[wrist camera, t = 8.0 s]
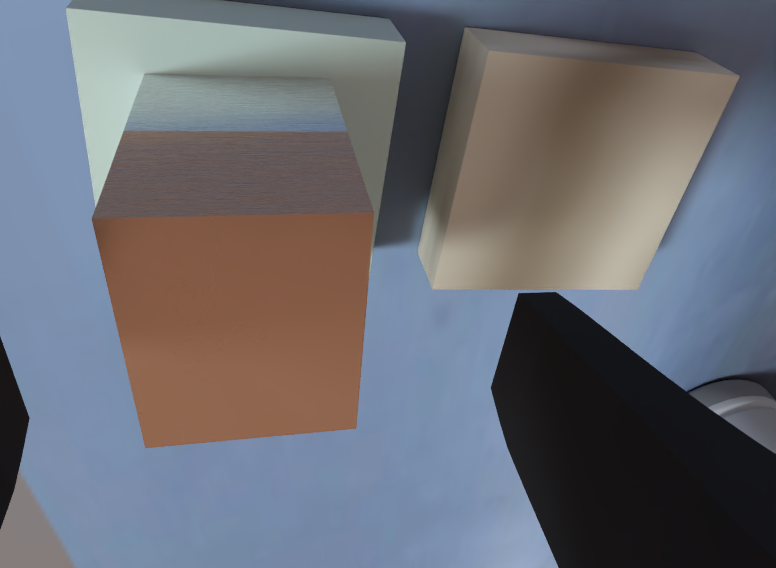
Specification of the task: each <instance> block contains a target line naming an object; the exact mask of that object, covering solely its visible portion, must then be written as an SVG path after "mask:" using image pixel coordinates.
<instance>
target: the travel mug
mask: <svg viewBox="0 0 776 568" xmlns="http://www.w3.org/2000/svg"><path fill="white" fill-rule="evenodd" d="M688 393H689V394H690V395H691V396H693V397H694V398H696V399H697V400H698V401H700V402H701V403H702V404H704V405H705V406H707V407H708V408H709V409H711V410H712V411H714V412H715V413H716V414H718V415H719V416H721V417H722V418H724V419H725V420H727V421H728V422H729V423H731V424H732V425H734V426H735V427H737V428H738V429H739V430H741V431H742V432H744V433H745V434H747V435H748V436H750V437H751V438H752V439H754V440H755V441H757V442H758V443H760V444H761V445H763V446H764V447H766V448H768V449H769V450H771V451H772V452H774V453H775V454H776V400H775V399H774V398H773V397H772V396H771V395H770V393H769V392H768V391H767V390H766V389H765V388H764V387H762V386H761V385H760V384H757V383H754V382H751V381H748V380H739V379H736V380H724V381H719V382H715V383H711V384H708V385H705V386H702V387H699V388H697V389H695V390H693V391H690V392H688Z"/></svg>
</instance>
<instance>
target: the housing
mask: <svg viewBox="0 0 776 568" xmlns="http://www.w3.org/2000/svg"><path fill="white" fill-rule="evenodd" d="M373 221H374V210H373V207H372V204H371V201H370V198H369V195H368V192H367V189H366V186H365V183H364V180H363V177H362V174H361V171H360V168H359V165H358V162H357V159H356V156H355V153H354V150H353V147H352V144H351V141H350V138H349V135H348V132H347V129H346V126H345V123H344V120H343V117H342V114H341V110H340V107H339V104H338V101H337V98H336V95H335V92H334V89H333V86H332V83H331V80H330V78H307V77H262V76H218V75H173V74H144V75H143V78H142V81H141V84H140V87H139V89H138V92H137V95H136V98H135V100H134V103H133V106H132V109H131V111H130V114H129V117H128V120H127V123H126V125H125V128H124V131H123V134H122V136H121V139H120V142H119V145H118V147H117V150H116V153H115V156H114V158H113V161H112V164H111V167H110V170H109V172H108V175H107V178H106V181H105V183H104V186H103V189H102V192H101V194H100V197H99V200H98V203H97V206H96V208H95V211H94V214H93V217H92V222H93V226H94V230H95V235H96V239H97V243H98V248H99V252H100V256H101V260H102V265H103V269H104V273H105V277H106V282H107V286H108V290H109V295H110V299H111V303H112V307H113V312H114V316H115V320H116V324H117V329H118V333H119V337H120V342H121V346H122V350H123V354H124V359H125V363H126V367H127V371H128V376H129V380H130V384H131V389H132V393H133V397H134V401H135V406H136V410H137V414H138V418H139V423H140V427H141V431H142V436H143V440H144V444H145V448H152V447H163V446H173V445H184V444H195V443H206V442H216V441H227V440H238V439H249V438H260V437H270V436H281V435H292V434H303V433H314V432H324V431H335V430H346V429H356V425H357V413H358V401H359V389H360V377H361V365H362V353H363V341H364V329H365V317H366V305H367V293H368V281H369V269H370V257H371V245H372V233H373Z"/></svg>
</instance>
